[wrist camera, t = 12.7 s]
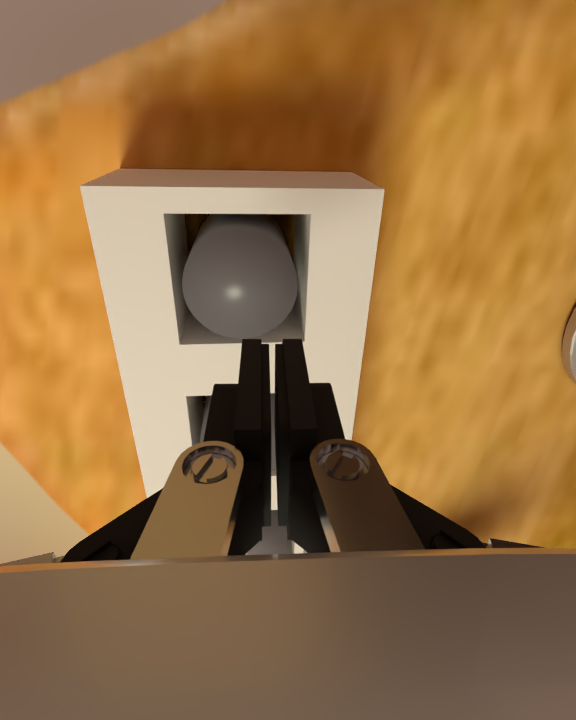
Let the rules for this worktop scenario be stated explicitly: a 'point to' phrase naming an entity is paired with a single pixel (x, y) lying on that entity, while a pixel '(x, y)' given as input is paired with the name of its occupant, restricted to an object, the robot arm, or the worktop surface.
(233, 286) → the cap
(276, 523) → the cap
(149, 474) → the button panel
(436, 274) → the worktop surface
